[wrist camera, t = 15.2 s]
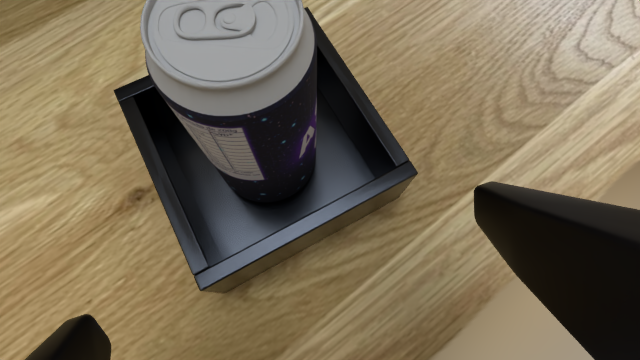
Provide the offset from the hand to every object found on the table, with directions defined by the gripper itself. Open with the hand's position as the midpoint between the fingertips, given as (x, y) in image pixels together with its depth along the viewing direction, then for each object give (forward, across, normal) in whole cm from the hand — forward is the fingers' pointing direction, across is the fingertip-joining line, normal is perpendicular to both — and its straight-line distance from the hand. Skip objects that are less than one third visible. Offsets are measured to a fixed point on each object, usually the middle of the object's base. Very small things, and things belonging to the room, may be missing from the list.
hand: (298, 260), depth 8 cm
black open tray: (+15, 0, +4) cm, 15 cm away
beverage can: (+14, 0, +4) cm, 15 cm away
